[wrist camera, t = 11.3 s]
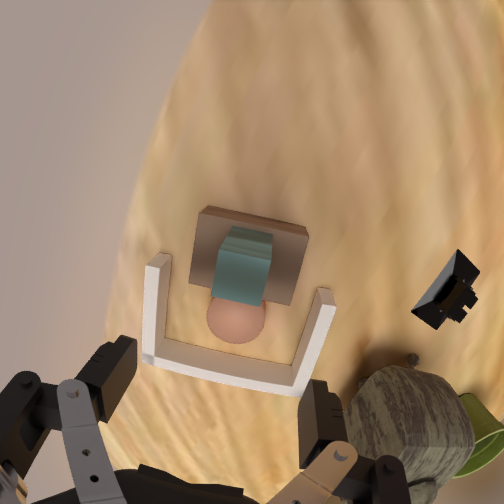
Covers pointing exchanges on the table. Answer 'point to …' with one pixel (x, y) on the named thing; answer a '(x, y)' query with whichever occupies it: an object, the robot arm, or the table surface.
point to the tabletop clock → (411, 426)
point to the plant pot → (481, 436)
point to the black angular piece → (449, 293)
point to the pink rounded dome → (235, 320)
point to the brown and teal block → (247, 256)
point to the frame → (225, 364)
